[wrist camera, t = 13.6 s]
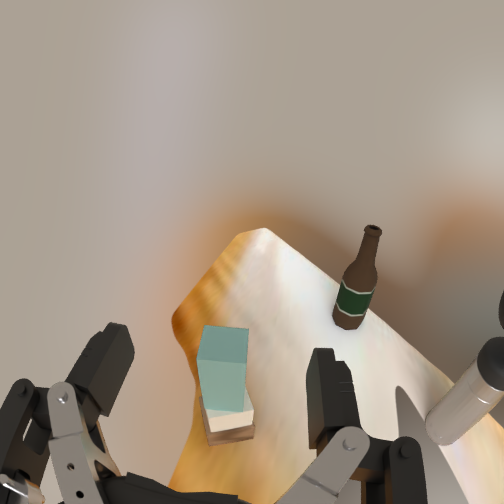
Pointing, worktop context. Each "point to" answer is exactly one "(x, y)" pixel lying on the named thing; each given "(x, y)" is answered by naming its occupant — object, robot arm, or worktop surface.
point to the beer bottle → (358, 283)
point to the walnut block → (226, 431)
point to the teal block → (223, 367)
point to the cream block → (231, 417)
